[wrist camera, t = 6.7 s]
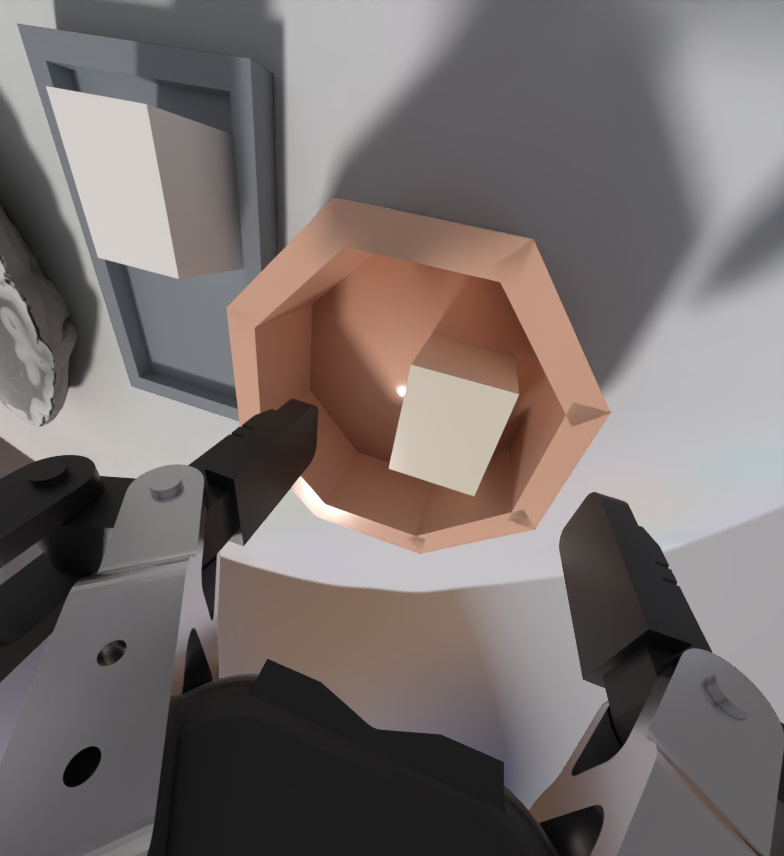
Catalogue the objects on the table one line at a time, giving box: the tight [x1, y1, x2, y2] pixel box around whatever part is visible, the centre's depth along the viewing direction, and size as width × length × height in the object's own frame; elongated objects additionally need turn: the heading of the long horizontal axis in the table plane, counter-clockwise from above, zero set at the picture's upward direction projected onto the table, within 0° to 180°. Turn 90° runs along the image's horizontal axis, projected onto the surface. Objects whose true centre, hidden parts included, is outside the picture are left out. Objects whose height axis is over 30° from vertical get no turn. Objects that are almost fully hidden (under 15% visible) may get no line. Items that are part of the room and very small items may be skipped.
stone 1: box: [46, 86, 244, 279], centre depth 12 cm, size 4×3×4 cm
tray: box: [17, 24, 278, 421], centre depth 15 cm, size 14×9×1 cm, turn 170°
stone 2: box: [389, 334, 519, 496], centre depth 13 cm, size 4×3×4 cm
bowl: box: [226, 198, 611, 554], centre depth 13 cm, size 12×12×5 cm
